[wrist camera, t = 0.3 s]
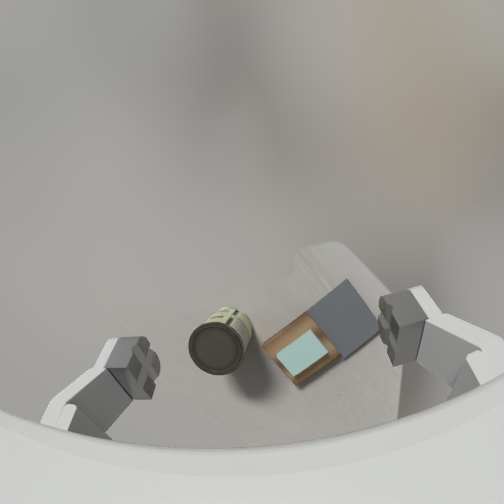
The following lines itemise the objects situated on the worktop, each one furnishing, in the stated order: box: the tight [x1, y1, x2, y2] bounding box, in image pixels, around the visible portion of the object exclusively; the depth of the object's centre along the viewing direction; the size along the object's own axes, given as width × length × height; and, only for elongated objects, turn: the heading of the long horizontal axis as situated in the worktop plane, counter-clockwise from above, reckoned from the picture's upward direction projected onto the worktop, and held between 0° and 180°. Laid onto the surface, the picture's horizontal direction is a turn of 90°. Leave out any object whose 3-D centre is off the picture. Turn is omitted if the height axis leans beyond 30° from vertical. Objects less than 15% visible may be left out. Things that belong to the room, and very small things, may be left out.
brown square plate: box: [263, 311, 340, 385], centre depth 60 cm, size 12×12×3 cm
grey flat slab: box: [307, 279, 379, 358], centre depth 59 cm, size 14×11×2 cm
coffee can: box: [189, 307, 252, 375], centre depth 56 cm, size 10×10×14 cm
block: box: [276, 329, 328, 377], centre depth 57 cm, size 6×9×2 cm, turn 129°
